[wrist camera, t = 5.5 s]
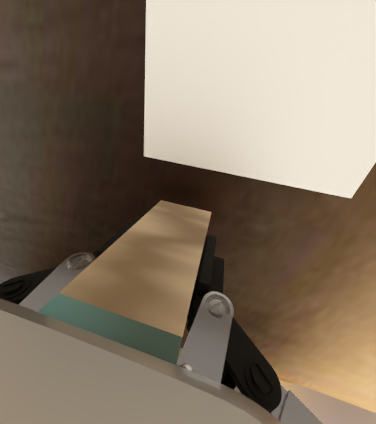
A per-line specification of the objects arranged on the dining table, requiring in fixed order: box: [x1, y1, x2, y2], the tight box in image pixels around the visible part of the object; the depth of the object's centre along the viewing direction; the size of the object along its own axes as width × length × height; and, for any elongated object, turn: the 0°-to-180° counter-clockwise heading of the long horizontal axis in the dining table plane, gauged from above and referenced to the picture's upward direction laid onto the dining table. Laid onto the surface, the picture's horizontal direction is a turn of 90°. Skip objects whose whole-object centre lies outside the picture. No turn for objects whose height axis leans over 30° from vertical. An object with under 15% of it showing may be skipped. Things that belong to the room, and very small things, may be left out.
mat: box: [144, 0, 376, 198], centre depth 14 cm, size 22×14×1 cm, turn 82°
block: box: [38, 200, 211, 365], centre depth 9 cm, size 4×4×10 cm
